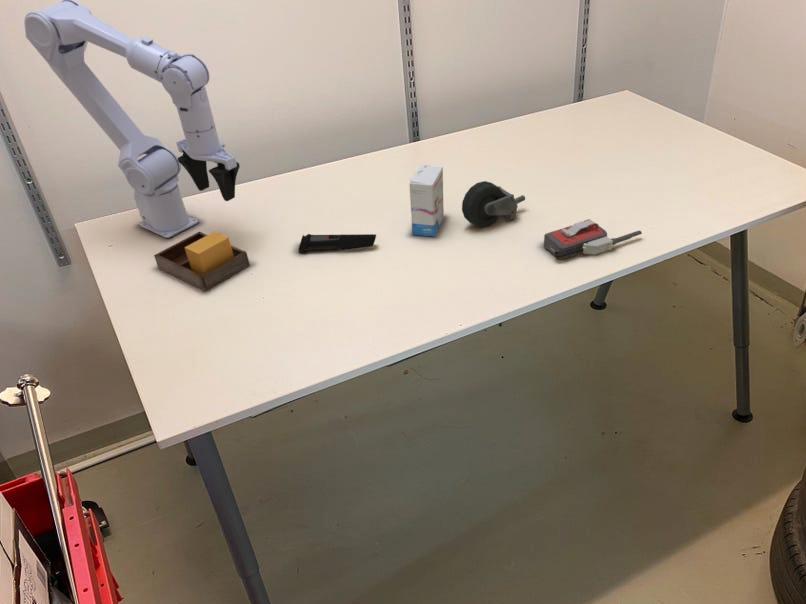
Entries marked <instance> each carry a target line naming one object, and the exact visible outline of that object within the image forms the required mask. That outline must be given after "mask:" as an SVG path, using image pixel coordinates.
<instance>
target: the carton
mask: <svg viewBox="0 0 806 604" xmlns="http://www.w3.org/2000/svg"><path fill="white" fill-rule="evenodd" d="M206 235H207V236H205V237H203V238H201V239H199V240H198V241H196V242H194V243H192V244H190V245H188V246H186V247H185V250H186V254H187V257H188V260H189V263H190V266H191V269H192V271H193V272H195V273H197V274H199V275H201V276H202V275H204V274H206V273H207V272H209V271H211V270H213V269H214V268H216V267H218V266H220V265H221V264H223V263H225V262H227V261H228V260H230V259H232V258H234V255H233V251H232V247H231V246H232V244H231V240H230V237H229V236H227V235H224V234H222V233H220V232H218V231H212V232H211V233H209V234H206Z"/></svg>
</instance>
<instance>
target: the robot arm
mask: <svg viewBox="0 0 806 604" xmlns="http://www.w3.org/2000/svg"><path fill="white" fill-rule="evenodd" d="M24 32H25V38H26V39H27V40H28V41H29V43H30V44H31V45H32V46H33V47H34V48H35V50H36V51H37V52H38V53H39V55H40V56H41V57H42V59H44V61H45V62H46V63H47V64H48V66H49V67H50V69H51V70H52V71H53V72H54V74H55V75H56V76H57V78H58V79H59V80H60V81H61V82H62V84H63V85H64V86H65V87H66V88H67V90H69V92H70V93H71V94H72V95H73V96H74V97H75V99H76V100H77V101H78V102H79V104H80V105H81V106H82V107H83V109H85V110H86V112H87V113H88V114H89V115H90V117H91V118H92V119H93V120H94V121H95V122H96V124H97V125H98V126H99V128H101V130H102V131H103V132H104V133H105V134H106V136H107V137H108V138H109V139H110V140H111V141H112V142H113V144H114V145H115V146H116V148H118V150H119V151H120V153H119V158H118V162H117V163H118V166H117V167H118V168H119V169H120V170H121V171H122V174H124V176H125V178H126V181H127V183H128V184H129V186H130V187H131V188H132V189H133V198H134V201H135V204H136V206H137V207H136V208H137V210H138V212H139V216H140V217H141V218H140V219H141V222H139V226H140V227H141V228H144V229H146V230H148V231H150V232H152V233H154V234H157V235H159V236H161V237H163V238H166V239H169V238H171V237H174V236H175V235H177V234H179V233H181V232H183V231H185V230H187V229H189V228H191V227H192V226H195V225H197V224H198V223H199V220H197V219H196V218H193V217H191V216H188V212H187V210H186V207H185V203H184V200H183V197H182V194H181V190H180V186H179V184H178V182H179V180H180V179H179V175H180V173H181V170H182V167H183V168H184V169H185V170H186V172H187V173H188V175H189V176H190V177H191V179H192V181H193V183H194V184H195V187H196V188H197V190H198V191H200V192H202V191H204V190H206V189H208V188H210V180H209V175H208V173H209V174H210V175H211V176H212V177H213V180H215V182H216V184H217V187H218V189H219V191H220V194H221V197H222V199H223V200H224V201H225V202H229V201H231V200H233V199H235V198H236V181H237V176H238V172H239V169H240V167H241V166H240V163H239V162H238V161H237V160H236V157H235V156H234V155H232V154H230V153H229V152H228V151H227V150H226V149H225V147H226V145H225V142H222V141H220V139H219V135H218V131H217V127H216V124H215V119H214V116H213V112H212V108H211V107H212V106H211V104H210V100H209V96H208V93H207V87H206V86H207V85H208V84H209V83H210V82H209V81H210V72H209V69H208V67H207V65H206V64H205V62H204V61H203V60H202V59H200V58H199V56H196V55H195V54H194V53H185V54H181V53H178V52H176V51H174V50H170V49H168V48H166V47H164V46H162V45H160V44H158V43H156V42H155V41H154V39H153V38H151V37H149V36H145V37H144V36H138V37H137V38H132V37H130V36H129V35H126V34H125V33H124V32H122V31H120V30H119V29H117V28H115V27H113V26H111V24H108V23H106V22H105V21H103V20H101V19H100V18H98V17H97V16H95V15H93V13H92V12H91V9H89V7H88V6H87V5H83V4H81V3H80V2H78V1H76V0H61V1H60V2H58V3H55V4H51V5H49V6H47V7H44V8H41V9H38V10H33V11H29V12H27V14H25V16H24ZM88 43H90V44H92V45H95V46H97V47H99V48H102V49H105V50H107V51H109V52H111V53H114V54H116V55H119V56H121V57H123V58H125V59H126V61H127V64H128V65H129V67H130V69H133V70H135V71H137V72H139V73H140V74H142V75H144V76H146V77H148V78H151V79H153V80H155V81H157V82H159V83H161V85H162V87H163V89H164V90H165V92H166V93H168V95H169V96H170V98H171V101H172V104H173V105H174V106H175V107H176V110H177V114H178V118H179V121H180V124H181V128H182V131H183V135H184V139H180V140H179V141H176V147H177V150H178V152H179V153H181V154H182V155H181V156H178V155H177V154H176V153H175V152H174V151H173V150H172V149H170V148H169V147H167V146H166V145H164V143H163V142H162V141H161V139H160V138H158V137H154V136H150V135H145V134H144V133H143V132H142V131H141V129H140V128H139V127H138V126H137V124H136V123H135V122H134V121H133V119H132V118H131V117H130V116H129V115H128V114H127V112H126V111H125V110H124V108H123V107H122V106H121V105H120V104H119V102H118V101H117V100H116V99H115V98H114V96H113V95H112V94H111V92H109V90H108V89H107V87H106V86H105V85H104V84H103V83H102V81H100V79H99V78H98V76H97V75H96V74H95V73H94V72H93V71H92V69H91V68H90V67H89V66H88V65H87V63H86V62H85V53H86V51H87V47H88V45H89V44H88ZM142 155H144V156H143V157H141V156H142ZM140 157H141V158H140ZM207 162H211V163H215V164H216V166H214V167H212V168H210V169H208V166H207Z"/></svg>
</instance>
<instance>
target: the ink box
mask: <svg viewBox="0 0 806 604" xmlns="http://www.w3.org/2000/svg"><path fill="white" fill-rule="evenodd" d="M409 181H410V182H409V199H410V215H411V216H410V218H411V234H412V235H415V236H425V237H433V238H434V237H435V236H436V234H437V232H438V230H439V228H440V226H441V224H442V222H443V220H444V218H445V211H444V210H445V209H444V167H442V166H435V165H428V164H419V165H418V167H417V169H416V170H415V171H414V174H413V175H412V176H411V178H409Z"/></svg>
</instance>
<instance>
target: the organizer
mask: <svg viewBox="0 0 806 604" xmlns="http://www.w3.org/2000/svg"><path fill="white" fill-rule="evenodd" d="M207 235H208V234H206V233H204V232H202V231H197V232H196V233H193V234H192V235H190V236H188V237H186V238H184V239H182V240H180V241H178V242H177V243H174V244H173V245H171V246H169V247H167V248H164V249H163V250H161V251H159V252H158V253H156V254H154V255H153V257H154V260H155V263H156V266H157V269H158V270H160V271H162V272H165V273H167V274H169V275H171V276H173V277H175V278H177V279H179V280H181V281H183V282H185V283H187V284H189V285H191V286H193V287H195V288H197V289H199V290H201V291H203V292H207V291H209V290H210V289H212V288H214V287H215V286H218V284H221V283H222V282H224V281H226V280H227V279H229V278H231V277H233V276H235V274H238V273H239V272H241V271H242V270H245V269H246V268H248V267H249V266H250V261H249V257H248V253H247V251H245V250H242V249H241V248H238V247H236V246H234V245H231V247H232V251H233V255H234V258H232V259H230V260H228V261H227V262H225V263H223V264H221V265H220V266H218V267H216V268H214V269H213V270H211V271H209V272H207V273H206V274H204V275H202V276H201V275H199V274H197V273H195V272H193V271H192V269H191V266H190V263H189V260H188V257H187V254H186V250H185V247H186V246H188V245H190V244H192V243H194V242H196V241H198V240H199V239H201V238H203V237H205V236H207Z"/></svg>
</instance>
